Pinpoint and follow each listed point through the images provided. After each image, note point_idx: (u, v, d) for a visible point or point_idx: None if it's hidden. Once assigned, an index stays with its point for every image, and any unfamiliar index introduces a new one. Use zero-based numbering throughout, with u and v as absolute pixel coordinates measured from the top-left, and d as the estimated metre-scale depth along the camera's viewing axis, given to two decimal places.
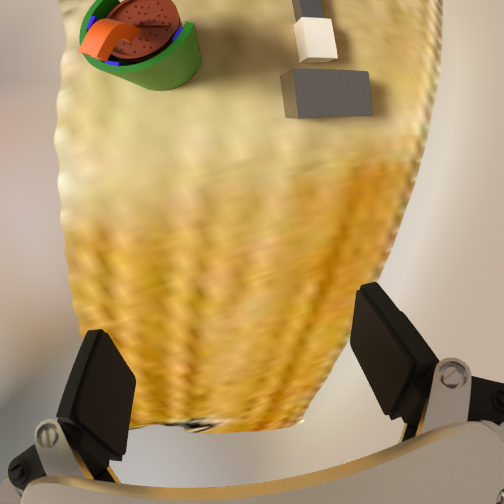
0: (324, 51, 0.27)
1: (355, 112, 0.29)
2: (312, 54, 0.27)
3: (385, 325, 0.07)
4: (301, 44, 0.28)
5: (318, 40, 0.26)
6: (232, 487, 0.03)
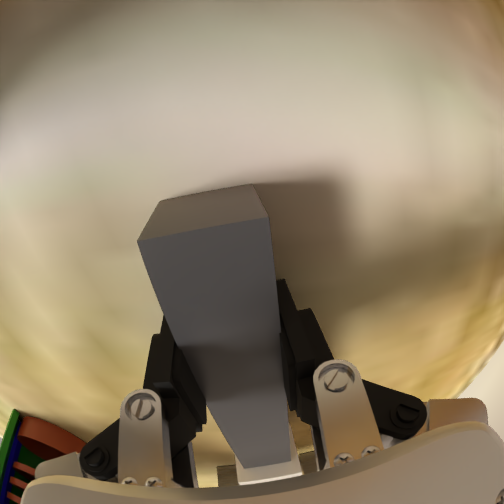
0: None
1: None
2: None
3: None
4: None
5: None
6: (232, 487, 0.03)
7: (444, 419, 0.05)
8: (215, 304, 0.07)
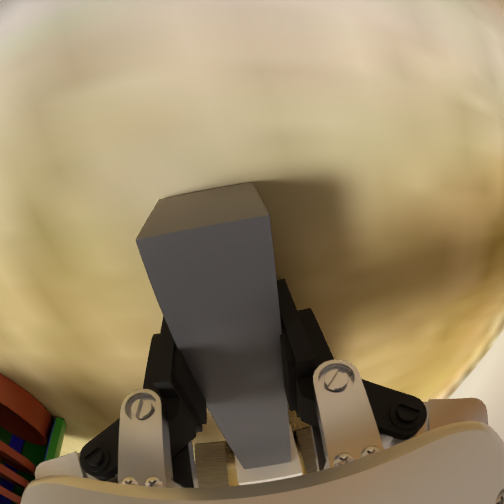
0: None
1: None
2: None
3: None
4: None
5: None
6: (232, 487, 0.03)
7: (445, 419, 0.05)
8: (215, 303, 0.07)
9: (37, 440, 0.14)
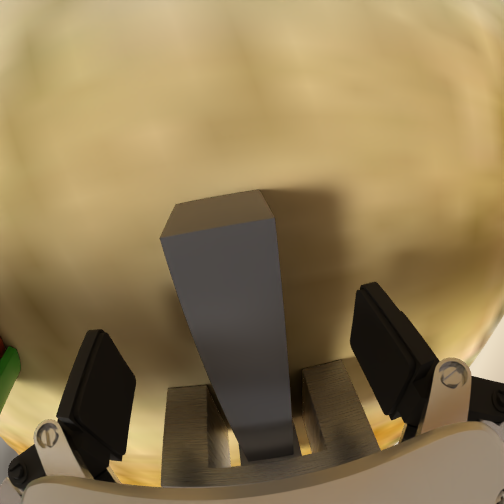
0: None
1: None
2: None
3: (385, 325, 0.07)
4: None
5: None
6: (232, 487, 0.03)
7: None
8: (226, 294, 0.08)
9: None
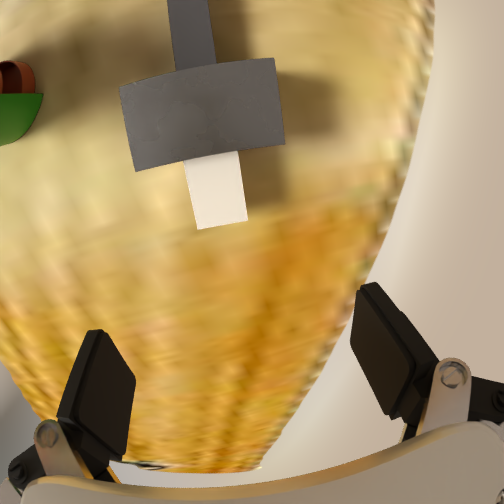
0: (223, 213, 0.21)
1: (246, 142, 0.17)
2: (204, 224, 0.22)
3: (385, 325, 0.07)
4: None
5: (213, 195, 0.21)
6: (232, 487, 0.03)
7: None
8: None
9: None
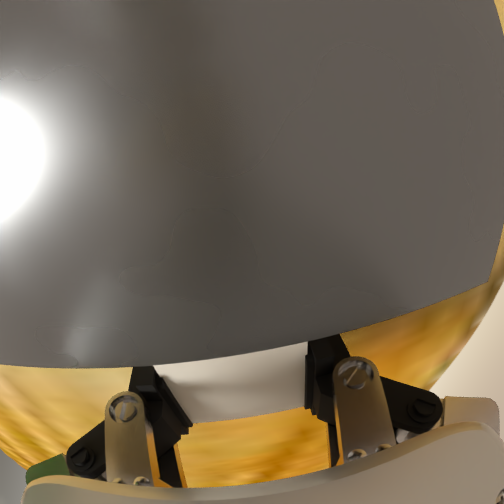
0: (250, 403, 0.08)
1: (386, 296, 0.03)
2: (203, 417, 0.08)
3: None
4: None
5: (224, 378, 0.07)
6: (232, 487, 0.03)
7: (459, 417, 0.05)
8: None
9: None
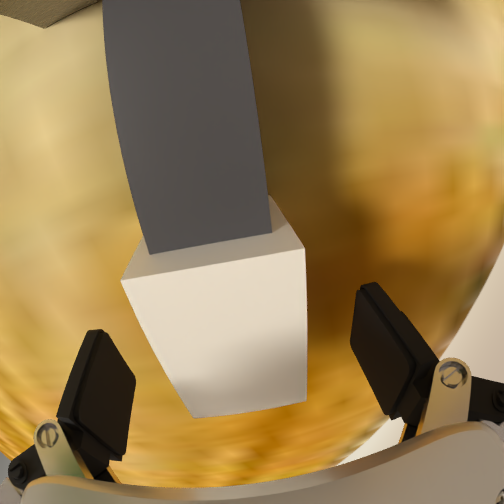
0: (252, 398, 0.08)
1: None
2: (206, 412, 0.08)
3: (385, 325, 0.07)
4: None
5: (227, 373, 0.07)
6: (232, 487, 0.03)
7: None
8: None
9: None
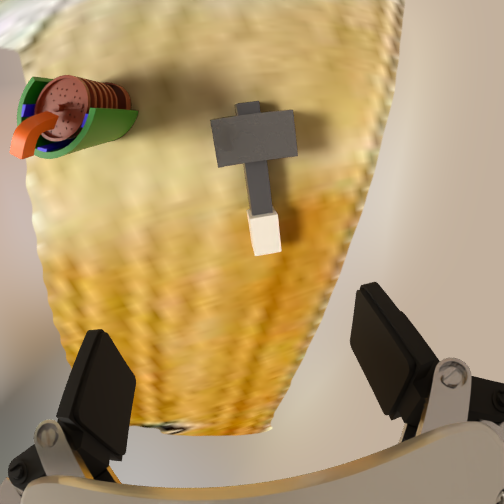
0: (269, 248, 0.42)
1: (278, 154, 0.33)
2: (258, 253, 0.42)
3: (385, 325, 0.07)
4: (251, 237, 0.42)
5: (264, 239, 0.41)
6: (232, 487, 0.03)
7: None
8: None
9: None
